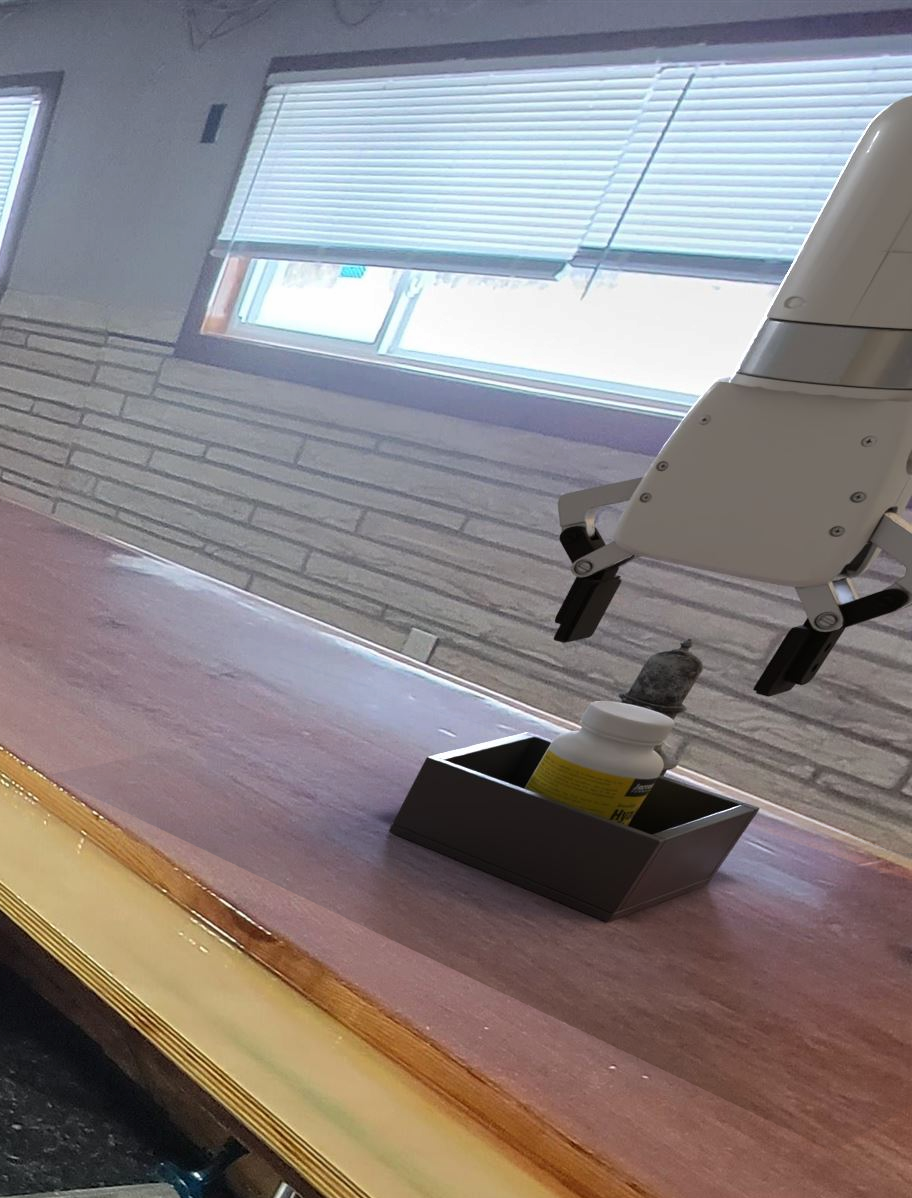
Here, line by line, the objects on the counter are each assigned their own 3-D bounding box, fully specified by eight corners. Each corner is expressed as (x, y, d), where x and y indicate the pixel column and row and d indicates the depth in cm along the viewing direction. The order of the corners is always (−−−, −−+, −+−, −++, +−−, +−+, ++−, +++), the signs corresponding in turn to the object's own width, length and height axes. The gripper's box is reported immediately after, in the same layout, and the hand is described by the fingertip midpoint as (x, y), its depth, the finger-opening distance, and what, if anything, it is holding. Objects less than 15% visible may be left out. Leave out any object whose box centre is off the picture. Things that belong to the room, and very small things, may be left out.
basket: (488, 803, 87) (528, 731, 85) (707, 885, 78) (760, 807, 75) (387, 831, 83) (426, 756, 80) (607, 922, 73) (660, 841, 70)
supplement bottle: (593, 878, 76) (683, 736, 72) (487, 845, 80) (566, 707, 75) (610, 854, 80) (697, 716, 75) (507, 823, 83) (584, 689, 78)
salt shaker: (607, 780, 92) (699, 628, 86) (671, 816, 87) (774, 656, 81) (525, 774, 92) (611, 622, 86) (584, 809, 87) (680, 650, 81)
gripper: (1116, 381, 60) (893, 706, 68) (673, 340, 73) (533, 615, 82) (1056, 388, 57) (831, 726, 65) (607, 344, 70) (470, 628, 79)
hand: (666, 664), depth 73 cm, fingers open, 9 cm apart
